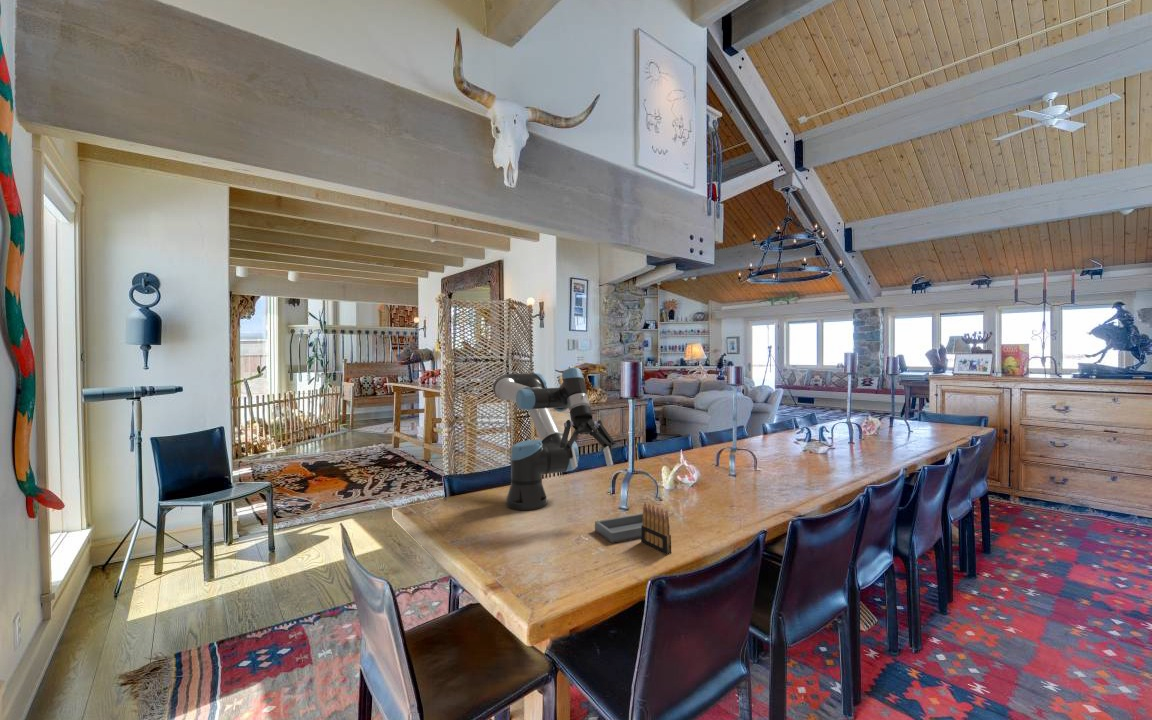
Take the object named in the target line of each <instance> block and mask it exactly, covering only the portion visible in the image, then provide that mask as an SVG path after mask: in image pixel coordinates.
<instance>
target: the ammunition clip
mask: <svg viewBox="0 0 1152 720" xmlns="http://www.w3.org/2000/svg"><path fill="white" fill-rule="evenodd" d="M642 513H643V526H641V538H640V543H642V544H644V545H646V546H648V547H649V548H652V549H654V550H656V551H658V552H660V553H662V554H664V555H665V556H667V555H670V554H672V537H671V536H672V535H671V533H670V531H671V529H670V519H669V516H670V515H669V512H668V510H667V509H666V510H665V512H664V510H663V508H661V509H660V508H659V506H657V507H656V508H655V505H652V507H651V504H650V503H648V505H647V502H644V503H643V511H642Z"/></svg>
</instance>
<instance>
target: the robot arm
mask: <svg viewBox="0 0 1152 720" xmlns="http://www.w3.org/2000/svg"><path fill="white" fill-rule="evenodd" d="M561 376H562V377H561V380H562V383H561V385H560V386H559V387H548V385H547V381H546V379H545V377H544V376H543V375H542V374H540V373H535V372H530V373H505V374H503V375H500V376H499V377H497V378H496V379H495V381H494V382H493V385H492V392H493V395H494V396H495V397H496V398H498V399H500V400H503V401H508V400H509V401H510V402H513V403H515V404H516V406H517V408H518V409H519V410H527V411H528V414H529V416H530V419H531V421H532V423H533V425H534V428H535V431H536V432H537V435H538V436H539V439H540V440H539V439H530V440H529V439H527V440H522V441H520V442H516V443H514V444H513V445H512V446H511V448H510V486H509V490H508V494H507V496H506V499H505V502H506V507H507V508H509V509H511V510H516V511H533V510H538V509H541V508H543V507H545V506H546V505H548V504H547V503H548V500H547V497H548V496H547V495H546V491H545V489H544V485H543V475H549V474H555V473H556V474H558V473H567V472H570V471H574V470H575V469H576V468H578V464H579V454H580V453H579V447H578V444H577V442H576V439H577V437H578V435H589V436H590V437H593V438H594V439H595V440H596V441H597V442H598V443H599V444H600V445H601V446H602V447H603V449H602V450H603V455H604V459H605V463H606V467H607V468H611V466H613V465H614V462H613V458H612V456H613V452H612V451H613V450H612V446H614V445H615V444H616V442H615V440H614V439H613V437H611V435H610V433H609V432H608V431H607V429H606V428H605V426H604V425H603V422H602V420H601V419H599V420H598V421H594V420H593V413H592V412H593V411H592V408H591V405H590V404H591V403H590V401H589V396H588V392H587V387H586V382H585V377H584V375H583V372H582V370H581V369H580V368H579V367H569V368H567V369H565V370H563V371H562V373H561ZM550 409H553V410H555V411H557V412H559V413H560V412H561V413H562V412H565V411H567V410H568V411H569V414H570V419H571V420H570V419H567V420H566V421H565V422H564V423H563V425H564V430H563V432H561V430H560V429H559V426H558V424H557V422H556V420H555V418H554V415H553V414H552V411H551V410H550ZM571 427H573V429H574V431H573V432H572V435H571V436H570V438H569V434H570V431H571Z"/></svg>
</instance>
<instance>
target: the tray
mask: <svg viewBox="0 0 1152 720" xmlns="http://www.w3.org/2000/svg"><path fill="white" fill-rule="evenodd" d="M641 526H643V512H641V513H637V514H632V515H631V514H630V515H626V516H625V515H624V516H620V517H612V518H607V519H603V520H602V519H601V520H595V521H594V531H595V532H596V533H598V534H599V535H600V536H601V537H603V538H604V539H605V538H606V539H605V540H606V541H608V542H609V541H610V543H611V544H615V542H617V543H621V542H620V541H622V542H627V541H630V540H631V539H632V540H636V539H641ZM626 540H627V541H626Z"/></svg>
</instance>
